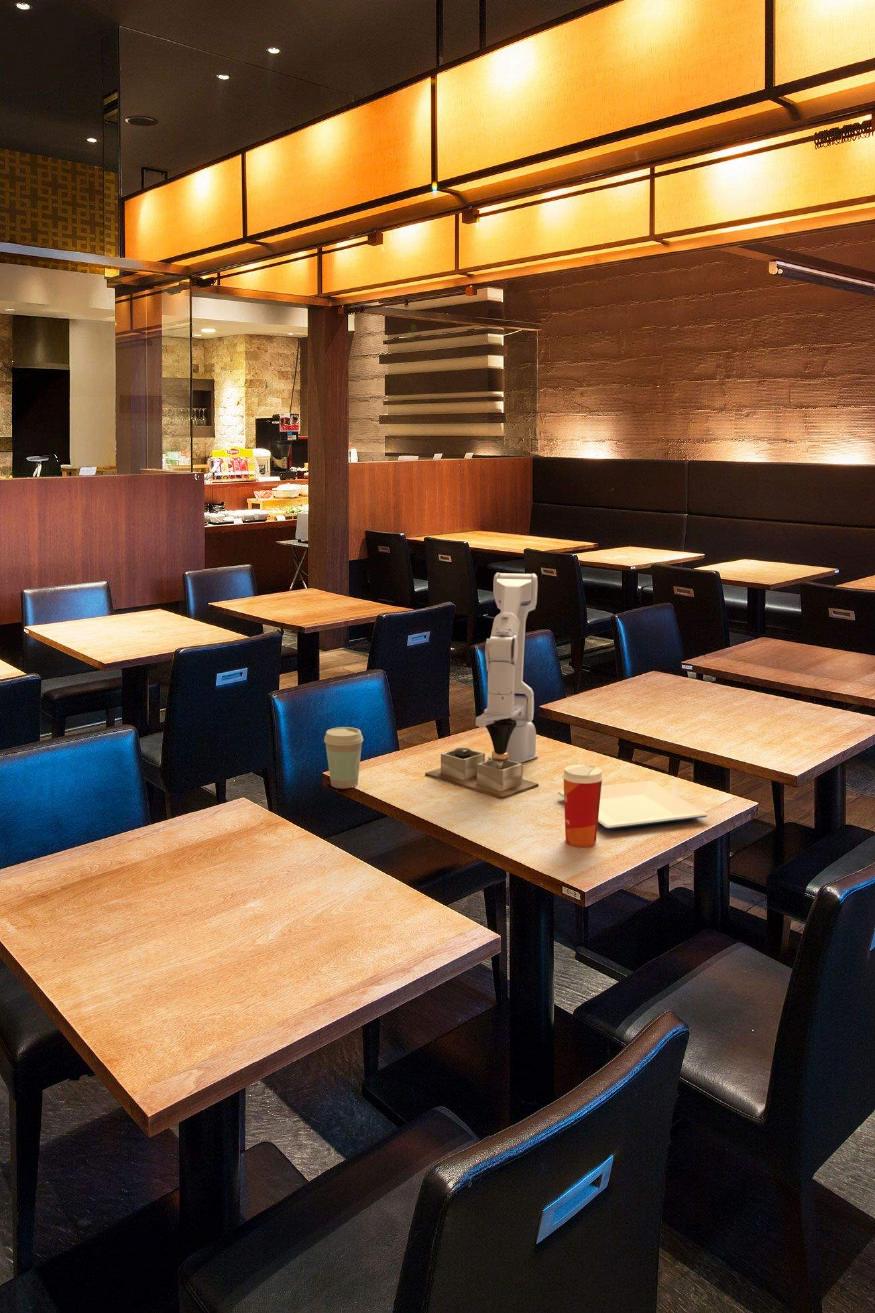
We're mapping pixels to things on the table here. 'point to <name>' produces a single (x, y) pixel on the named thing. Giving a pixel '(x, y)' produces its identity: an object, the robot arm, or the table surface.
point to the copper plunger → (499, 759)
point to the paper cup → (581, 804)
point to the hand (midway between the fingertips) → (500, 752)
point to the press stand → (482, 774)
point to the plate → (641, 805)
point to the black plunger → (462, 753)
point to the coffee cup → (343, 755)
